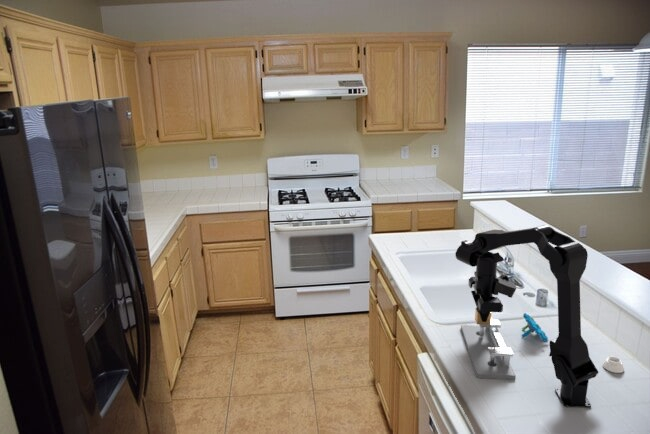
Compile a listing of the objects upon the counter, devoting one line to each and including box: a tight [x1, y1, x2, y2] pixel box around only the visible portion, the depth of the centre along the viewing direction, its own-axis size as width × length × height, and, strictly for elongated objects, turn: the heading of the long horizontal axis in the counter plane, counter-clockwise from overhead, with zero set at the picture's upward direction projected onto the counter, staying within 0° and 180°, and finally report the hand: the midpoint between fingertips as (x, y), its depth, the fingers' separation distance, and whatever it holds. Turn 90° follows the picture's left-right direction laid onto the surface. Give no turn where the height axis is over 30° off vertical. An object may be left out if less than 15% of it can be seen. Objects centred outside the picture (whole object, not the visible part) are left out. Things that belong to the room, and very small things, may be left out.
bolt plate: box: [460, 324, 516, 380], centre depth 137 cm, size 26×10×1 cm, turn 174°
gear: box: [521, 312, 549, 342], centre depth 144 cm, size 11×6×10 cm
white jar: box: [602, 355, 625, 374], centre depth 128 cm, size 5×3×5 cm
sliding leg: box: [474, 307, 502, 337], centre depth 141 cm, size 3×7×9 cm, turn 84°
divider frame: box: [486, 316, 514, 367], centre depth 138 cm, size 22×6×4 cm, turn 174°
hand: (482, 318), depth 141 cm, fingers closed on sliding leg, 3 cm apart
